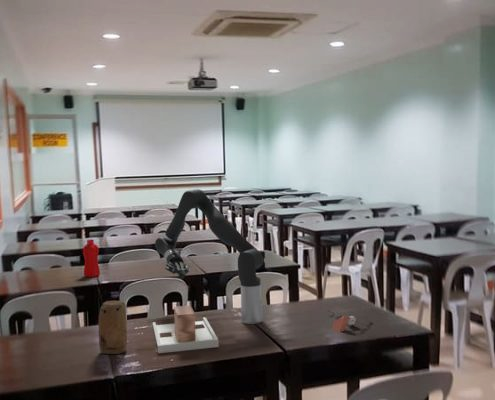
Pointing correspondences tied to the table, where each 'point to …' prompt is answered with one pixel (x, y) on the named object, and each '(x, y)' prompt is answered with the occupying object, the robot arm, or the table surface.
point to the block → (112, 327)
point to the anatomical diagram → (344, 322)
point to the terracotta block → (184, 324)
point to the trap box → (170, 344)
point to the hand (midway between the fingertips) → (183, 276)
